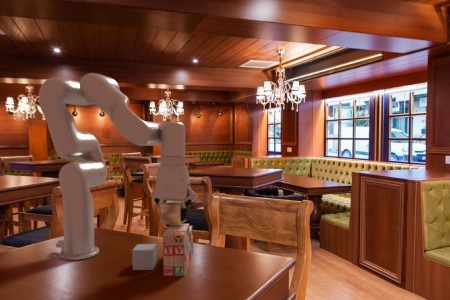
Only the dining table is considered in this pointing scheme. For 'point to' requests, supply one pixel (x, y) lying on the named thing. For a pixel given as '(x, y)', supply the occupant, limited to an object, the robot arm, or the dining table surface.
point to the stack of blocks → (177, 249)
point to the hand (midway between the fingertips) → (173, 219)
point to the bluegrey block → (144, 256)
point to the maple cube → (171, 213)
